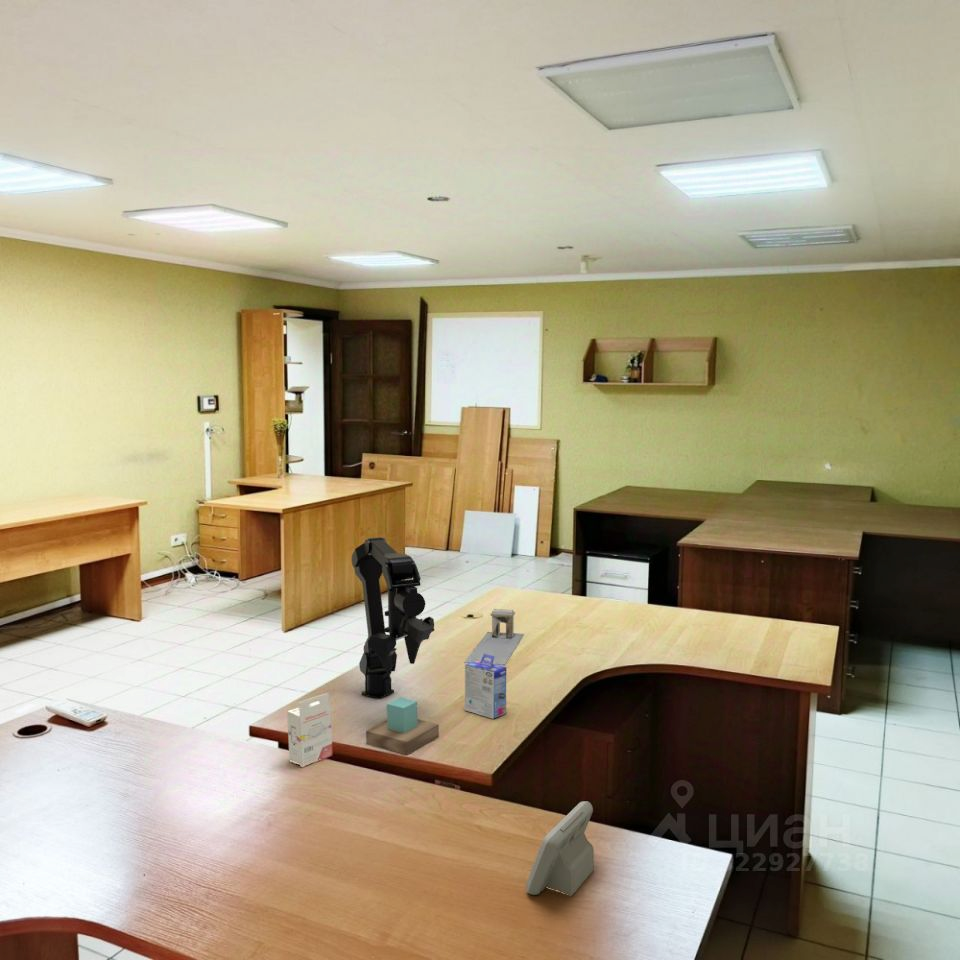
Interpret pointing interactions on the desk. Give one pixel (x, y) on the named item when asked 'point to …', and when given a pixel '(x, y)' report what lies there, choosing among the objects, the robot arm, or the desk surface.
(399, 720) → the teal block
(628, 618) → the desk surface
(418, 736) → the walnut plinth
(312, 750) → the ink cartridge box
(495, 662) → the grey sheet with arch
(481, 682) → the ink cartridge box
